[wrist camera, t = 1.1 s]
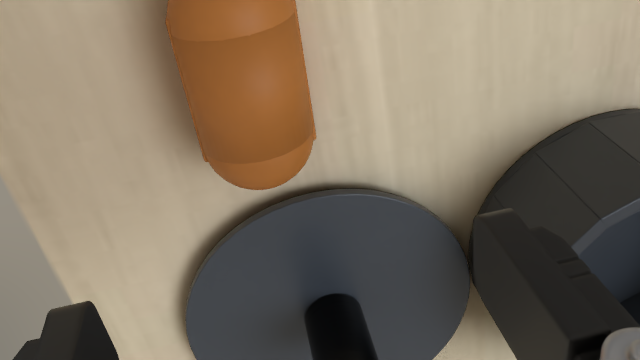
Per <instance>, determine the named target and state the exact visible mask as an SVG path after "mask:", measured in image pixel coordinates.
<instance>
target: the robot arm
mask: <svg viewBox="0 0 640 360" xmlns="http://www.w3.org/2000/svg"><path fill="white" fill-rule="evenodd" d="M473 273H474V279H475V284H476V287H477V290H478V293H479V295H480V297H481V299H482V301H483V303H484V304H485V306H486V308H487V309H488V311H489V313H490V315H491V316H492V318H493V320H494V321H495V323H496V325H497V326H498V328H499V330H500V331H501V333H502V335H503V336H504V338H505V340H506V342H507V343H508V345H509V347H510V348H511V350H512V352H513V353H514V355H515V357H516V358H517V360H640V325H639V324H638V323H637V322H636V321H635V320H634V319H633V317H632V316H631V315H630V314H629V313H628V312H627V311H626V309H625V308H624V307H623V306H622V305H621V304H620V303H619V301H618V300H617V299H616V298H615V297H614V296H613V295H612V293H611V292H610V291H609V290H608V289H607V288H606V287H605V285H604V284H603V283H602V282H601V281H600V280H599V279H598V277H597V276H596V275H595V274H594V273H593V274H592V273H591V269H590V268H589V267H588V266H587V265H586V264H585V262H584V261H583V260H582V259H579V256H578V254H577V253H576V252H575V251H574V250H573V249H572V248H571V246H570V245H569V244H568V243H567V242H566V241H565V240H564V239H563V238H562V237H560V236H558V235H556V234H555V233H553V232H551V231H549V230H548V229H546V228H544V227H542V226H539V227H534V228H530V229H529V228H528V226H527V225H526V224H525V223H524V222H523V220H522V219H521V218H520V217H519V215H518V214H517V213H516V212H515V211H514V210H513V209H511V208H508V209H503V210H499V211H494V212H490V213H485V214H481V215H477V216H475V218H474V222H473ZM13 360H119V358H118V354H117V352H116V349H115V347H114V345H113V343H112V341H111V339H110V337H109V335H108V332H107V330H106V328H105V326H104V324H103V322H102V320H101V318H100V316H99V314H98V311H97V309H96V307H95V306H94V304H93V303H92V302H90V301H86V302H82V303H77V304H73V305H68V306H64V307H59V308H55V309H51V310H50V311H49V313H48V314H47V317H46V321H45V324H44V327H43V330H42V334H41V337H40V338H39V339H35V340H30V341H27V342H26V343H25V344H24V346H23V347H22V348H21V350H20V351H19V352H18V354H17V355H16V356H15V357H14V359H13Z"/></svg>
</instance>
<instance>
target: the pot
mask: <svg viewBox="0 0 640 360" xmlns="http://www.w3.org/2000/svg"><path fill="white" fill-rule="evenodd" d="M508 208H511V209H513V210H514V211H515V212H516V213H517V214H518V215H519V217H520V218H521V219H522V220H523V222H524V223H525V224H526V225H527V226H528V228H529V229H530V228H534V227H539V226H542V227H544V228H546V229H548V230H549V231H551V232H553V233H555V234H556V235H558V236H560V237H562V238H563V239H564V240H565V241H566V242H567V243H568V244H569V245H570V246H571V248H572V249H573V250H574V251H575V252H576V253H577V254H578V256H579V259H582V260H583V261H584V262H585V264H586V265H587V266H588V267H589V268H590V269H591V273H592V274H593V273H594V274H595V275H596V276H597V277H598V279H599V280H600V281H601V282H602V283H603V284H604V285H605V287H606V288H607V289H608V290H609V291H610V292H611V293H612V295H613V296H614V297H615V298H616V299H617V300H618V301H619V303H620V304H621V305H622V306H623V307H624V308H625V309H626V311H627V312H628V313H629V314H630V315H631V316H632V317H633V319H634V320H635V321H636V322H637V323H638V324H639V325H640V109H625V110H619V111H612V112H607V113H604V114H600V115H596V116H592V117H590V118H587V119H584V120H582V121H579V122H577V123H574V124H572V125H570V126H568V127H566V128H564V129H562V130H560V131H558V132H556V133H554V134H553V135H551V136H550V137H548V138H547V139H545V140H543V141H542V142H540V143H539V144H537V145H536V146H535V147H534V148H532V149H531V150H530V151H529V152H527V153H526V154H525V155H523V156H522V157H521V158H520V159H519V160H518V161H517V162H516V163H515V164H514V165H513V166H512V167H511V168H510V169H509V170H508V171H507V172H506V173H505V174H504V176H503V177H502V178H501V179H500V180H499V181H498V182H497V184H496V185H495V187H494V188H493V190H492V191H491V192H490V194H489V195H488V197H487V198H486V200H485V202H484V204H483V206H482V208H481V209H480V211H479V213H478V215H481V214H485V213H490V212H494V211H499V210H503V209H508ZM468 256H469V268H470V272H471V276H472V281H473V284H474V285H475V287H476V284H475V279H474V273H473V230H472V234H471V238H470V243H469V255H468ZM476 289H477V287H476ZM477 291H478V290H477Z"/></svg>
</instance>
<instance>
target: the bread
mask: <svg viewBox="0 0 640 360" xmlns="http://www.w3.org/2000/svg"><path fill="white" fill-rule="evenodd" d="M165 23H166V26H167V30H168V33H169V37H170V40H171V44H172V48H173V51H174V55H175V58H176V62H177V65H178V69H179V73H180V76H181V80H182V83H183V87H184V90H185V94H186V97H187V101H188V105H189V108H190V112H191V115H192V119H193V122H194V126H195V129H196V133H197V137H198V140H199V144H200V147H201V151H202V154H203V158H204V160H205V162H209V164H210V165H211V166H212V168H213V169H214V171H215V172H216V173H217V174H219V175H220V176H221V177H222V178H223V179H225V180H226V181H228V182H230V183H231V184H233V185H236V186H238V187H241V188H246V189H251V190H264V189H270V188H274V187H277V186H279V185H282V184H284V183H285V182H287V181H288V180H290V179H291V178H293V177H294V176H295V175H296V174H297V173H298V172H299V171H300V170H301V169H302V167H303V166H304V165H305V163H306V161H307V160H308V157H309V155H310V153H311V150H312V145H313V140H315V139H316V132H315V125H314V119H313V113H312V106H311V100H310V93H309V87H308V80H307V74H306V67H305V61H304V54H303V48H302V42H301V35H300V29H299V22H298V16H297V9H296V3H295V0H168V4H167V15H166V22H165Z"/></svg>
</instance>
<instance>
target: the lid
mask: <svg viewBox="0 0 640 360" xmlns="http://www.w3.org/2000/svg"><path fill="white" fill-rule="evenodd" d="M469 289H470V276H469V267H468V264H467V260H466V256H465V254H464V252H463V250H462V248H461V245H460V243H459V242H458V240H457V238H456V237H455V236H454V234H453V233H452V231H451V230H450V229H449V227H448V226H447V225H446V224H445V223H444V222H443V221H442V220H441V219H440V218H439V217H438V216H436V215H435V214H433V213H432V212H430V211H429V210H428V209H426V208H425V207H423V206H421V205H419V204H417V203H415V202H413V201H411V200H409V199H406V198H403V197H400V196H397V195H394V194H391V193H386V192H381V191H375V190H366V189H332V190H326V191H319V192H313V193H308V194H305V195H301V196H297V197H294V198H290V199H288V200H285V201H282V202H280V203H277V204H275V205H272V206H270V207H268V208H266V209H264V210H262V211H260V212H258V213H257V214H255V215H253V216H251V217H250V218H248V219H247V220H245V221H244V222H242V223H241V224H239V225H238V226H236V227H235V228H234V229H233V230H232V231H231V232H229V233H228V234H227V235H226V236H225V237H224V238H222V239H221V240H220V241H219V243H218V244H217V245H216V246H215V247H214V248H213V249H212V250H211V252H210V253H209V254H208V255H207V257H206V258H205V260H204V261H203V263H202V264H201V266H200V267H199V269H198V271H197V273H196V275H195V277H194V279H193V282H192V284H191V287H190V291H189V294H188V298H187V306H186V331H187V336H188V340H189V344H190V347H191V349H192V351H193V353H194V355H195V357H196V359H197V360H432V359H433V358H434V357H435V356H436V355H437V354H438V353H439V352H440V351H441V350H442V349H443V348H444V347H445V345H446V344H447V343H448V341H449V340H450V339H451V337H452V336H453V334H454V333H455V331H456V329H457V327H458V326H459V324H460V322H461V319H462V317H463V315H464V312H465V310H466V306H467V302H468V298H469Z"/></svg>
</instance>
